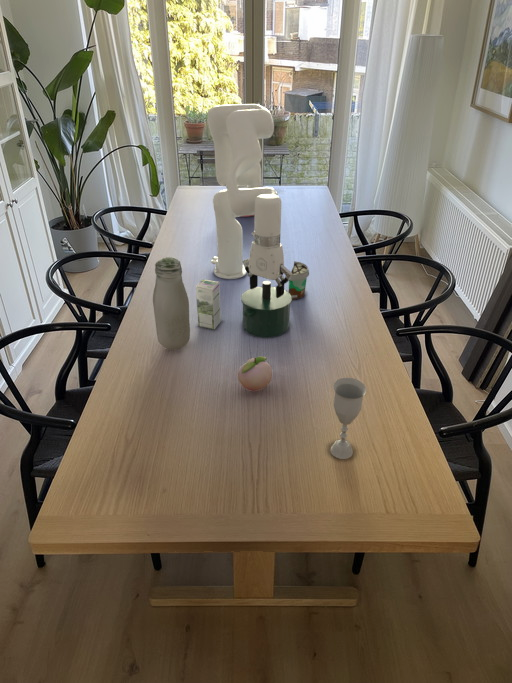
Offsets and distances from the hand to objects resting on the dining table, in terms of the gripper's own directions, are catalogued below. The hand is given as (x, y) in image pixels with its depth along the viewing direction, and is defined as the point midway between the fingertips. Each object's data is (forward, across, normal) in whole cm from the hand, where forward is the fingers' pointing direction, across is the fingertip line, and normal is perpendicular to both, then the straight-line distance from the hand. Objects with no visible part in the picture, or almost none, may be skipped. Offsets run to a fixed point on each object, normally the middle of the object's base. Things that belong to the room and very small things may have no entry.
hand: (266, 292), depth 158 cm
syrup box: (+12, -15, -10) cm, 22 cm away
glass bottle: (+12, -15, -26) cm, 32 cm away
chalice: (+12, +46, -36) cm, 60 cm away
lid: (+2, 0, 0) cm, 3 cm away
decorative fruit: (+12, +17, -29) cm, 36 cm away
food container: (+12, -3, +25) cm, 28 cm away
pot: (+12, 0, 0) cm, 12 cm away
